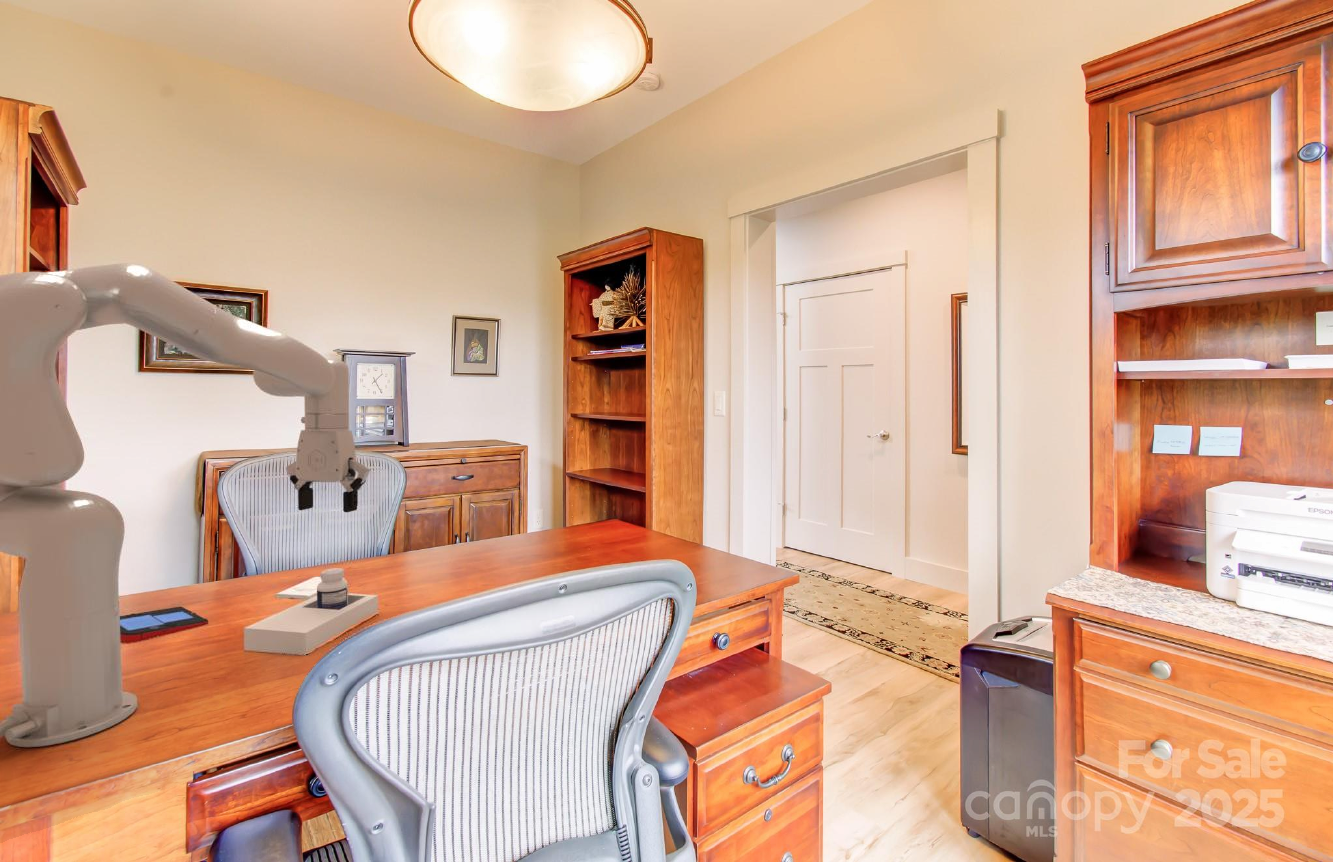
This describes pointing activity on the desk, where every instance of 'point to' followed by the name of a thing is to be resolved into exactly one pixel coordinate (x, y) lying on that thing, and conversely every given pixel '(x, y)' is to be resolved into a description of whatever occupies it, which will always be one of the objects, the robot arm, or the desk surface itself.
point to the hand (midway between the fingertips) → (327, 510)
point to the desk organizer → (306, 625)
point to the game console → (157, 623)
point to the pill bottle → (332, 590)
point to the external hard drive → (302, 589)
